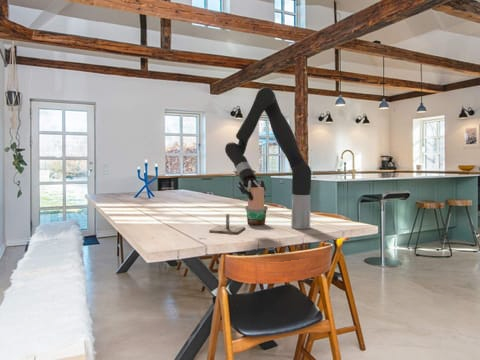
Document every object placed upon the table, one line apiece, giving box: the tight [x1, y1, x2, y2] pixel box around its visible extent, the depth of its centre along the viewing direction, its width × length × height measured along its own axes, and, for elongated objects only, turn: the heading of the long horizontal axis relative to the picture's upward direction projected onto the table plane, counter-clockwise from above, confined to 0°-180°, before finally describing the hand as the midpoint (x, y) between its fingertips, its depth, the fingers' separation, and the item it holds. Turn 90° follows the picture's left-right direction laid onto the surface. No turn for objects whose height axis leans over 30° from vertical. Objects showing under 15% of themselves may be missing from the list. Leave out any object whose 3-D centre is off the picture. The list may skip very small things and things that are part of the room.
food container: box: [244, 204, 269, 227], centre depth 186 cm, size 12×6×10 cm, turn 76°
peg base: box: [208, 213, 246, 235], centre depth 171 cm, size 14×13×8 cm
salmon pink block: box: [247, 187, 265, 210], centre depth 166 cm, size 6×6×10 cm
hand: (257, 199), depth 164 cm, fingers closed on salmon pink block, 5 cm apart
